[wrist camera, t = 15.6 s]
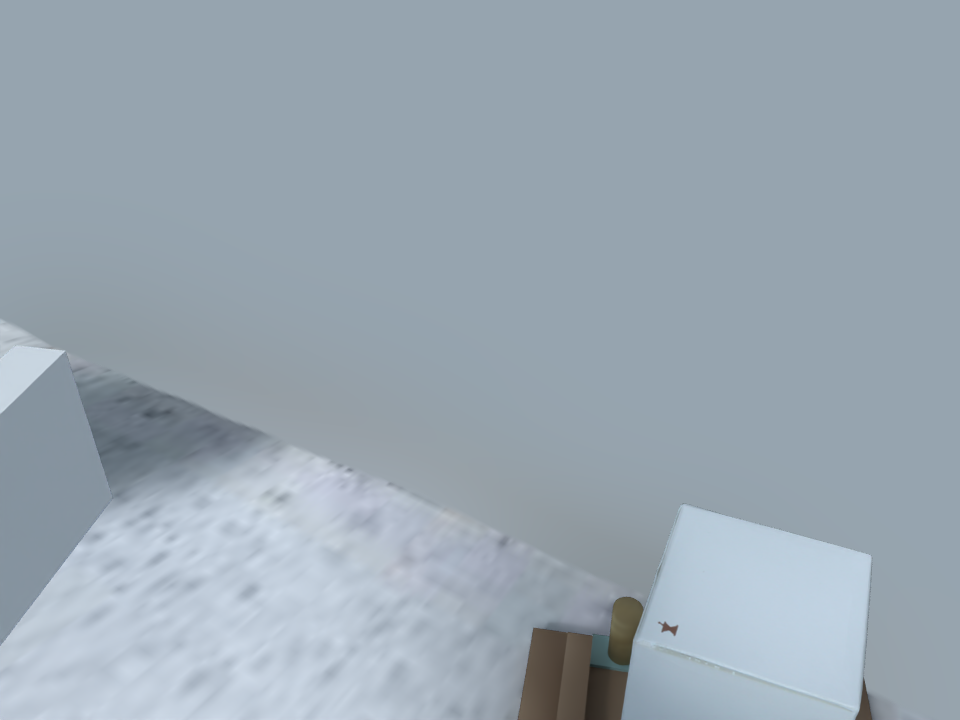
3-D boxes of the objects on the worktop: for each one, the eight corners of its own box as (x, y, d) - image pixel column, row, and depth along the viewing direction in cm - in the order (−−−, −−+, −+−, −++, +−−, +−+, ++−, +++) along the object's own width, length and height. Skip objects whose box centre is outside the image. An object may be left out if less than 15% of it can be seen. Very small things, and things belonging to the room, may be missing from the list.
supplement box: (783, 914, 34) (863, 718, 27) (598, 836, 36) (625, 637, 29) (808, 750, 40) (879, 551, 32) (645, 692, 42) (678, 495, 35)
